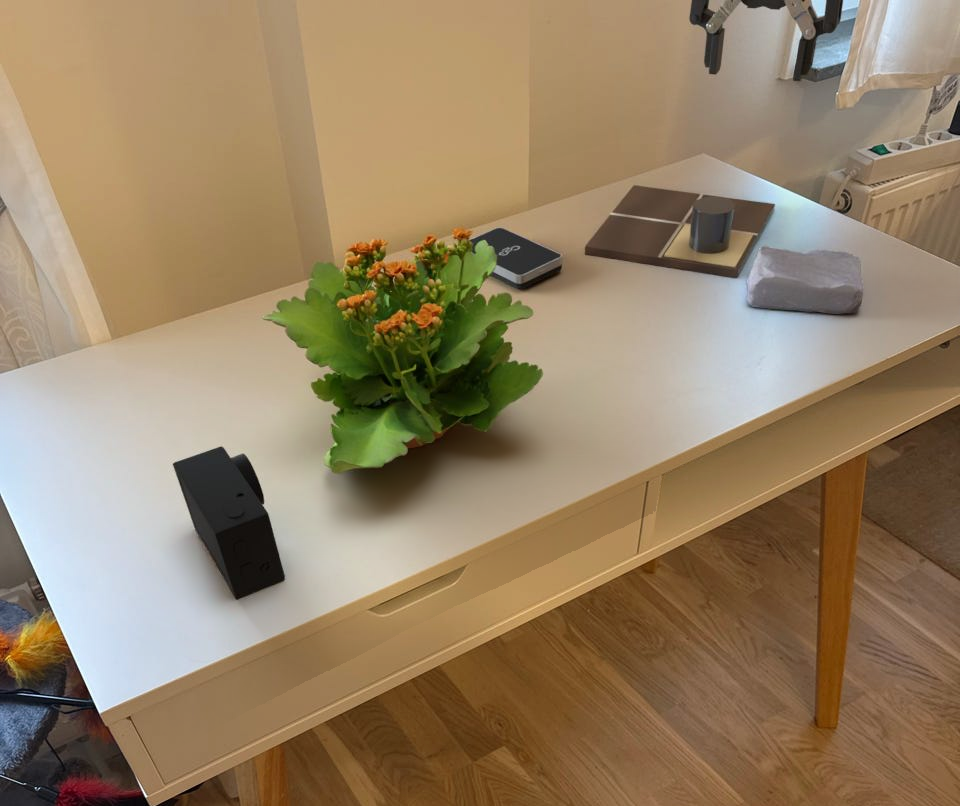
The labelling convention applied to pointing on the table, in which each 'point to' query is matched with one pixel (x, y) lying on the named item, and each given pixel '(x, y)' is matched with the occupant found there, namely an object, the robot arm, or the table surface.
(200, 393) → the table surface
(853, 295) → the block
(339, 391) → the potted flower
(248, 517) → the digital camera
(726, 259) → the board
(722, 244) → the dark grey cylinder
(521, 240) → the external hard drive
